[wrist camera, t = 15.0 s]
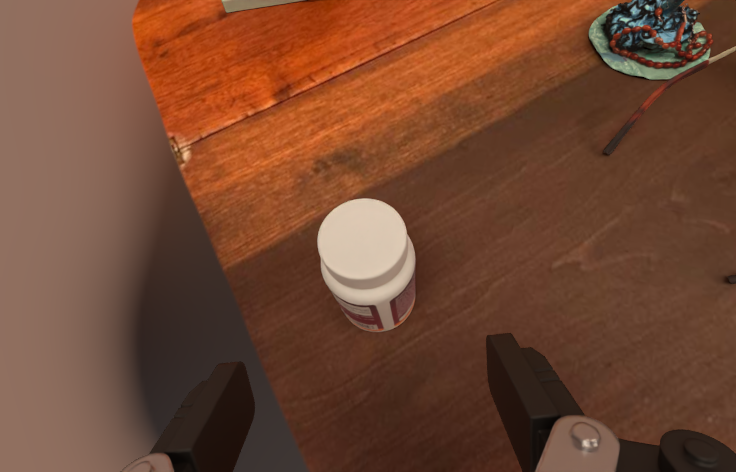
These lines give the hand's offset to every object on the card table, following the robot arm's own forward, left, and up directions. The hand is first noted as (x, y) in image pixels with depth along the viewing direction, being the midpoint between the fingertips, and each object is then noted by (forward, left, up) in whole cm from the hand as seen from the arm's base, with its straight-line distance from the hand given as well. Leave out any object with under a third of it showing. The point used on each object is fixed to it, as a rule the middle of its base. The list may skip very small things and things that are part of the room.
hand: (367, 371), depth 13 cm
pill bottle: (0, +6, -10) cm, 12 cm away
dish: (+24, +25, -10) cm, 36 cm away
